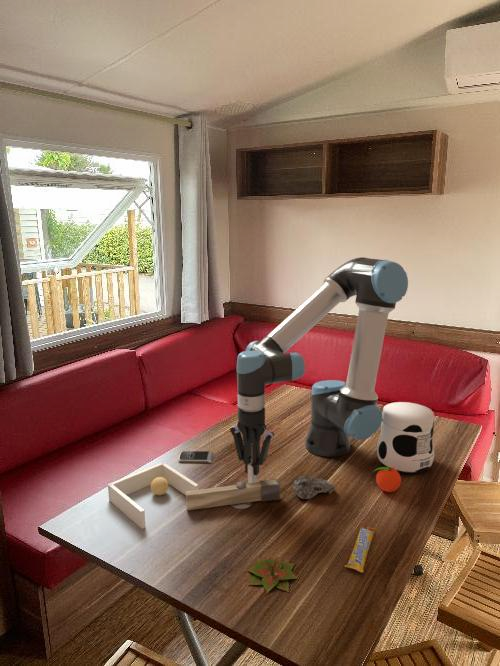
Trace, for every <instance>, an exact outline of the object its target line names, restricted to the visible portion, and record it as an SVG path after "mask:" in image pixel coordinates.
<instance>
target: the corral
mask: <svg viewBox="0 0 500 666" xmlns="http://www.w3.org/2000/svg"><path fill="white" fill-rule="evenodd" d="M157 477H163V478H165V479H166V480H167V482H168V485H170V486H171V487H173V488H174V489H176V490H177V491H178V492H180V493H182V494H183V495H185V496H186V491H193V490H199V484H198V483H196V482H194V481H193V480H192V479H191V478H188V477H187V476H185V475H184V474H182V473H181V472H179V471H177V470H176V469H174V468H173V467H171V466H170V465H168V464H166V463H165V462H164V461H162V462H159V463H158V464H155V465H152V466H151V467H147V468H145V469H142V470H141V471H140V470H139V471H138V472H136V473H133V474H129V475H127V476H125V477H122V478H120V479H118V480H115V481H113V482H111V483H108V484H107V491H108V501H109V502H111V504H112V505H113V506H115V507H116V508H117V509H118V510H119V511H121V512H122V513H123V514H124V515H126V516H127V518H129V519H130V520H131V521H132V522H133V523H135V525H137V526H138V528H140V529H141V530H143V529H145V528H146V518H145V517H146V515H145V513H146V512H145V509H144V508H142V507H141V506H140V505H139V504H137V503H136V502H135V500H133V499H132V498H130V497H129V496H128V495H130V494H133V493H135V492H138V491H139V490H141V489H145V488H146V487H149V486H151V483H152V481H153V480H154V479H155V478H157Z"/></svg>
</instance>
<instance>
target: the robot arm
mask: <svg viewBox="0 0 500 666" xmlns="http://www.w3.org/2000/svg"><path fill="white" fill-rule="evenodd" d="M408 279H409V278H408V274H407V272H406V271H405V269H404V267H403V266H402V265H401V264H400V263H398V262H395V261H393V260H392V261H391V260H388V259H379V258H378V259H376V258H371V257H369V258H368V257H362V256H361V257H356V258H353V259H350V260H348V261H347V262H344V263H343V264H341V265H340V266H338V267H337V268H336V269H335V270H333V271H332V272H330V274H329V275H328V276H327V277H325V278H324V279H323V285H321V286H320V287H319V288H318V289H317V290H316V291H315V292H314V293H312V294H311V295H310V296H309V297H308V298H307V299H306V300H304V302H303V303H302V304H300V305H299V306H298V307H297V308H296V309H295V310H294V311H293V312H291V313H290V314H289V315H288V316H287V317H286V318H285V319H283V321H282V322H280V323H279V324H278V325H277V326H276V327H275V328H273V330H272V331H270V332H269V334H267V335H266V336H265V337H264V338H263V339H261V340H254V341H251V342H250V343H248V345H247V346H246V348H245V351H241V352H240V353H238V355H237V358H236V359H237V360H236V369H235V370H236V380H237V381H236V382H237V383H236V384H237V407H238V408H237V420H238V421H237V422H236V423H237V424H234V425H233V426H231V427H230V428H229V431H230V433H231V435H232V438H233V441H234V446H235V450H236V455H237V459H238V460H239V461H242V462H243V463H244V469H245V470H244V472H245V474H247V484H248V483H256V482H258V479H257V478H258V475H259V473H260V466H262V465H263V464H264V463H265V462H266V461H267V457H268V452H269V448H270V445H271V441H272V439H273V438H274V436H275V433H274V432H272V431H271V432H270V431H269V430H268V429H267V426H266V423H265V422H266V408H265V406H266V395H265V394H266V385H273V384H277V383H283V382H289V381H290V382H292V381H294V380H298V379H301V378H303V377H304V375H305V373H306V363H305V360H304V357H303V356H302V355H301V354H300V353H299V352H288V353H286V352H287V351H289V350H290V349H291V348H292V347H293V345H295V344H296V343H297V342H299V340H301V339H302V338H303V337H304V336H305V335H306V334H307V333H308V332H309V331H310V330H312V328H314V327H315V325H317V324H318V323H319V322H320V321H321V320H322V319H323V318H324V317H326V315H328V314H329V313H330V312H331V311H332V310H334V308H335V307H336V306H337V305H339V304H340V303H345V302H346V301H348V300H349V299H350V298H352V297H356V298H355V304H356V306H357V307H358V314H357V321H356V326H355V331H354V336H353V337H354V338H353V343H352V349H351V354H350V360H349V364H348V365H349V366H348V369H347V370H348V372H347V378H346V381H343V380H338V379H335V380H334V379H332V380H331V379H328V380H327V379H326V380H321V381H317V382H315V383H314V384H313V385H312V387H311V394H310V395H311V403H310V404H311V407H310V408H311V409H310V412H311V413H310V425H309V429H308V431H307V434H306V436H305V442H304V444H305V445H304V446H305V449H306V450H307V451H308V452H310V453H311V454H313V455H317V456H320V457H324V458H327V457H329V458H333V457H342V456H344V455H346V454H348V453H349V452H350V450H351V439H350V437H351V438H352V439H354V440H357V441H359V440H360V441H362V440H367V439H369V438H371V437H372V436H373V435H374V434H376V432H378V430H380V429H379V428H381V423H382V412H383V411H382V410H381V409H380V408H379V407H378V399H379V395H378V394H377V392H376V391H375V389H376V387H375V386H376V383H377V377H378V372H379V367H380V361H381V356H382V349H383V345H384V340H385V339H384V338H385V335H386V329H387V324H388V318H389V314H390V313H391V312H392V311H394V310H396V309H395V308H396V305H397V303H399V302H401V301H402V299H403V297H405V295H406V294H407V291H408V287H409V280H408ZM262 435H263V441H262V446H261V443H260V442H261V437H262ZM260 446H261V447H260Z"/></svg>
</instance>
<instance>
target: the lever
mask: <svg viewBox="0 0 500 666" xmlns="http://www.w3.org/2000/svg"><path fill="white" fill-rule="evenodd" d="M280 485H281V484H280V483H279V481H278V479H277V478H272V479H271V478H270V479H262V480H258V481H257V482H256V483H248V482H247V483H246V482H244V481H237V482H236V483H235V484H233V485H226V486H218V487H210V488H209V487H208V488H202V489H198V490H193V491H186V495H185V505H186V510H187V511H192V510H193V511H194V510H200V509H201V510H202V509H208V508H216V507H220V506H221V507H222V506H228V505H229V506H231V504H238V503H246V502H252V503H253V502H259V501H260V502H269V501H277V500H280V497H281V495H280V489H281V487H280Z"/></svg>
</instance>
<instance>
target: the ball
mask: <svg viewBox="0 0 500 666" xmlns="http://www.w3.org/2000/svg"><path fill="white" fill-rule="evenodd" d="M168 489H169V484H168V482H167V480H166V479H165V478H163V477H157V478H155V479H154V480H153V481H152V483H151V485H150V490H151V492H152V493H153V494H154V495H155V496H163V495H164V494H166V493H167V492H168Z"/></svg>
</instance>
